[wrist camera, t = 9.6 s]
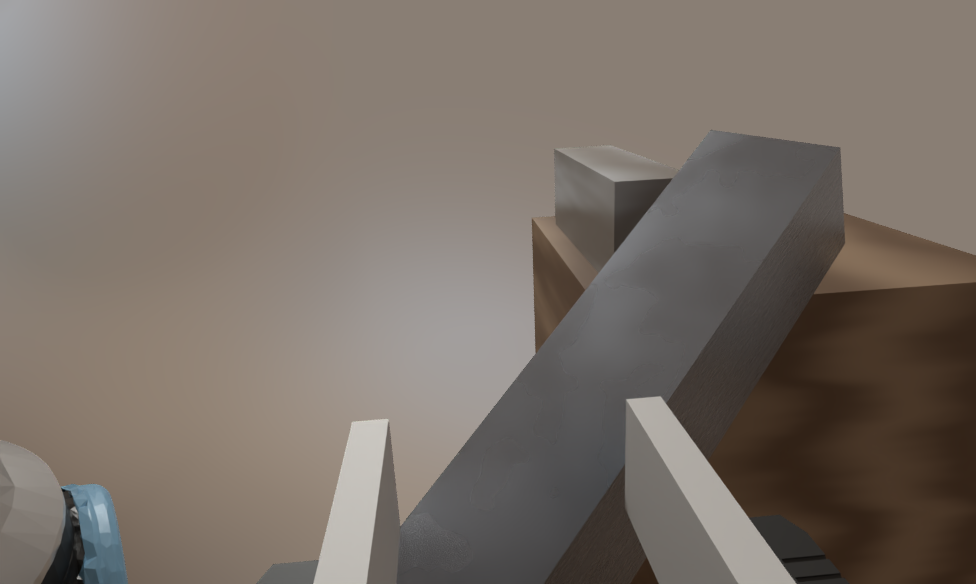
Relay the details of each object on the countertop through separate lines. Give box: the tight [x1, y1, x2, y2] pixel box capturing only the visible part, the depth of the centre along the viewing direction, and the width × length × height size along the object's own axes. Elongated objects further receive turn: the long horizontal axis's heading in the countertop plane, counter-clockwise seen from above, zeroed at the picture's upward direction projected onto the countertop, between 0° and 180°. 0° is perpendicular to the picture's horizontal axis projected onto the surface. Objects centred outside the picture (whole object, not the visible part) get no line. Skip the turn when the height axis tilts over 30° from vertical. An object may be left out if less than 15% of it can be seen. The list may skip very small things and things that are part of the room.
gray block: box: [396, 130, 845, 584], centre depth 18 cm, size 4×24×4 cm
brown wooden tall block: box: [532, 145, 976, 584], centre depth 35 cm, size 16×16×34 cm
